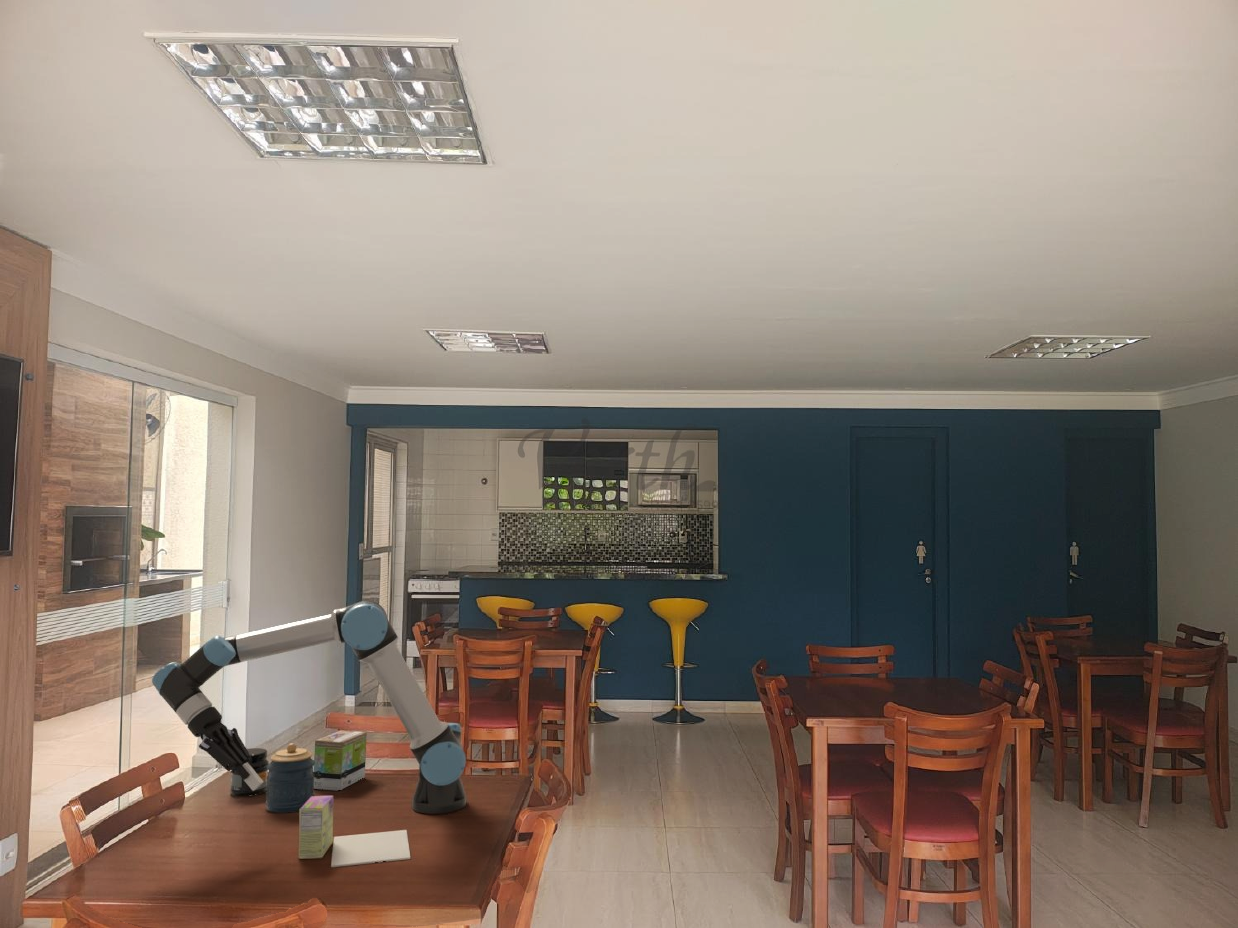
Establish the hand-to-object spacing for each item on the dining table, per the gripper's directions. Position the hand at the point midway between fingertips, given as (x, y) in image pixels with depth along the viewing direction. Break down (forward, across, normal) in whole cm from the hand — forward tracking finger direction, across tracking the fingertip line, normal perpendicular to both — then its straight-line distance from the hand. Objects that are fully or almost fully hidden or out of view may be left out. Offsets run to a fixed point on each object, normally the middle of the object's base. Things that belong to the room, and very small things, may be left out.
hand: (258, 786), depth 211 cm
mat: (+30, -4, +9) cm, 32 cm away
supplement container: (-9, -43, -31) cm, 54 cm away
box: (+22, 0, 0) cm, 22 cm away
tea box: (+7, -56, -15) cm, 58 cm away
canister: (+4, -32, -17) cm, 37 cm away
